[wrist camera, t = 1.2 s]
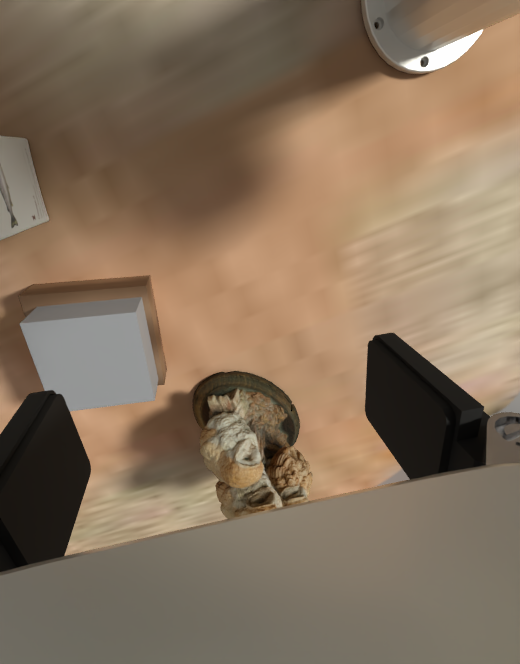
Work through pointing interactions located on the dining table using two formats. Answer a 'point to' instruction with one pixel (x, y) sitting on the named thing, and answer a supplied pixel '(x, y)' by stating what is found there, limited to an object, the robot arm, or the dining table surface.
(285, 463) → the carved figurine
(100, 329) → the grey top block
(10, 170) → the supplement box
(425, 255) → the dining table surface
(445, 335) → the dining table surface
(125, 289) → the walnut base block
